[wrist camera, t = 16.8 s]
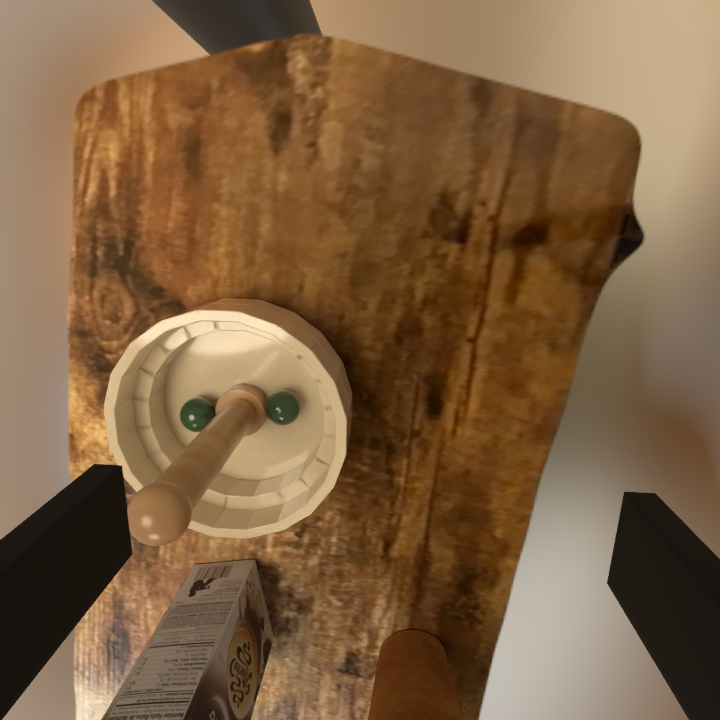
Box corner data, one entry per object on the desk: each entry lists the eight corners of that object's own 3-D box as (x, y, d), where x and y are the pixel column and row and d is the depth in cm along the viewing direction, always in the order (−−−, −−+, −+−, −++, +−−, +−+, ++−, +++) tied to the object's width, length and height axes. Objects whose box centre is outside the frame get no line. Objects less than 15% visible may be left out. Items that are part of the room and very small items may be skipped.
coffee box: (277, 637, 47) (221, 838, 32) (213, 642, 48) (128, 842, 33) (257, 556, 45) (187, 731, 30) (190, 563, 46) (87, 737, 30)
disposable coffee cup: (351, 624, 46) (337, 757, 35) (450, 606, 45) (471, 737, 34) (377, 702, 49) (372, 850, 37) (472, 687, 48) (498, 835, 36)
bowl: (134, 293, 39) (90, 305, 34) (355, 301, 38) (348, 314, 33) (154, 491, 44) (118, 531, 38) (350, 501, 43) (344, 544, 37)
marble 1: (177, 392, 39) (189, 412, 37) (211, 389, 41) (224, 408, 39) (172, 421, 40) (184, 441, 38) (205, 416, 42) (218, 436, 40)
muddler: (220, 382, 40) (100, 492, 24) (269, 384, 40) (182, 497, 23) (223, 427, 41) (110, 563, 25) (270, 429, 41) (188, 568, 25)
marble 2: (292, 386, 41) (264, 383, 39) (312, 398, 39) (283, 396, 37) (282, 418, 41) (254, 416, 39) (301, 431, 39) (272, 431, 37)
